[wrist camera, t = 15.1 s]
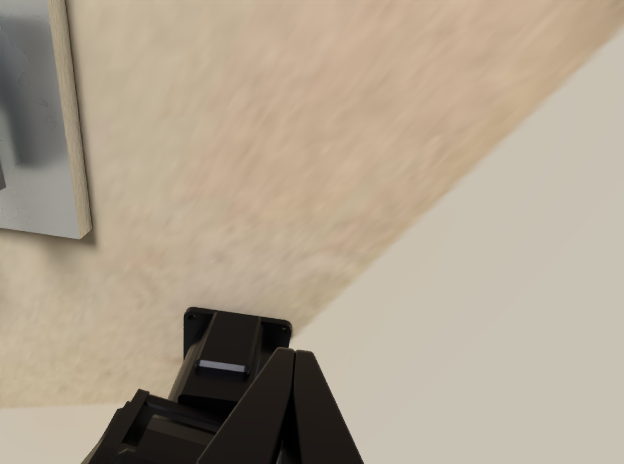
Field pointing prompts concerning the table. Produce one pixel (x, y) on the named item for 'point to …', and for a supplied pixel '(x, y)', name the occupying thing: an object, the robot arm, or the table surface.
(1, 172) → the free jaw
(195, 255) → the table surface
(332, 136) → the table surface
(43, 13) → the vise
